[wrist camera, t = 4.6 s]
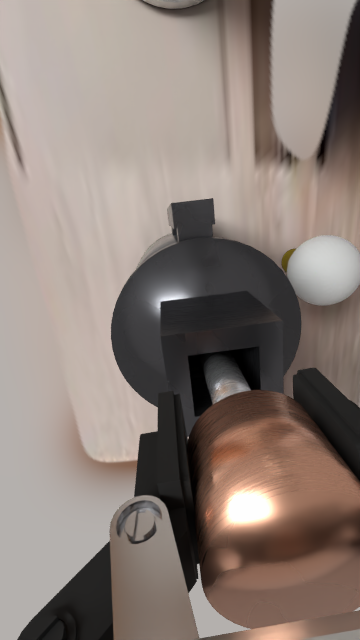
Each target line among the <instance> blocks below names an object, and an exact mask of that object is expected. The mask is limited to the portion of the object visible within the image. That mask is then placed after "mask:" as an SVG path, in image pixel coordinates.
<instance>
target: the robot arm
mask: <svg viewBox="0 0 360 640" xmlns="http://www.w3.org/2000/svg"><path fill="white" fill-rule="evenodd" d="M143 1H145V2H147V3H150V4H152V5H154V6H158V7H163V8H169V9H175V8H186V7H189V6H192V5H196V4H199V3H200V2H202V1H204V0H143ZM293 396H294V400H295V401H297V402H298V403H299V404H300V405H301V406H302V407H303V408H304V409H305V410H306V411H307V412H308V414H309V415H310V416H311V418H312V419H313V420H314V422H315V423H316V424H317V426H318V427H319V428H320V430H321V431H322V432H323V434H324V435H325V436H326V438H327V439H328V440H329V442H330V443H331V444H332V445H333V447H334V448H335V449H336V451H337V452H338V453H339V455H340V456H341V457H342V459H343V460H344V461H345V463H346V464H347V465H348V467H349V468H350V469H351V471H352V472H353V473H354V475H355V476H356V477H357V478H358V480H359V481H360V408H359V407H358V406H357V405H356V404H355V403H354V402H352V401H350V400H348V399H347V398H346V397H345V396H344V395H343V394H342V393H341V392H340V391H339V390H338V389H337V388H336V387H335V386H334V385H333V384H332V383H331V382H330V381H329V380H328V379H327V378H326V377H324V376H323V375H322V374H321V373H320V372H319V371H318V370H317V369H316V368H309V369H303V370H299V371H298V372H297V375H294V376H293ZM187 444H188V438H187V433H186V427H185V421H184V415H183V409H182V404H181V398H180V394H175V395H174V391H168V392H162V393H158V431H157V432H151V433H145V434H141V435H140V441H139V452H138V463H137V473H136V484H135V495H134V498H132V499H130V500H128V501H127V502H125V503H124V504H123V505H122V506H120V507H119V509H118V510H117V511H116V512H115V514H114V516H113V518H112V521H111V524H110V541H109V542H108V543H107V544H106V545H105V546H104V547H103V548H102V549H101V550H100V551H99V552H98V553H97V554H96V555H95V557H93V559H91V560H90V562H88V563H87V564H86V565H85V566H84V567H83V568H82V569H81V570H80V571H79V572H78V573H77V574H76V576H75V577H74V578H72V579H71V581H69V583H68V584H66V586H65V587H64V588H63V589H62V590H61V591H60V592H59V593H58V594H57V595H56V596H55V597H54V598H53V599H52V600H51V601H50V602H49V603H48V604H47V605H46V606H45V607H44V608H43V609H42V610H41V611H40V612H39V613H38V614H37V615H36V616H35V617H34V618H33V619H32V620H31V621H30V622H29V624H28V625H27V626H26V627H25V628H24V630H23V631H22V632H21V634H20V636H19V638H18V639H17V640H360V610H359V611H353V612H348V613H342V614H336V615H330V616H324V617H319V618H313V619H307V620H301V621H296V622H290V623H284V624H279V625H273V626H267V627H262V628H256V629H251V630H246V631H239V632H234V633H228V634H222V635H218V636H211V637H206V638H200V639H199V635H198V631H197V627H196V623H195V619H194V615H193V611H192V606H191V602H190V599H189V594H188V593H189V592H190V590H191V589H192V588H193V586H194V585H195V583H196V582H197V580H196V579H198V571H197V564H199V555H198V546H197V537H196V528H195V508H194V500H193V491H192V483H191V474H190V466H189V457H188V449H187Z"/></svg>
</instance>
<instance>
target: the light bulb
mask: <svg viewBox="0 0 360 640" xmlns="http://www.w3.org/2000/svg"><path fill="white" fill-rule="evenodd" d="M282 267H283V269H284V271H285V272H287V278H288V279H289V281H290V283H291V285H292V287H293V289H294V291H295V293H296V295H297V296H298V297H299V298H300V299H302V300H303V301H305V302H308V303H310V304H314V305H322V306H324V305H332V304H336V303H338V302H341V301H343V300H344V299H346V298H348V297H349V296H350V295H351V294H352V293H353V292H354V291H355V290H356V289H357V287H358V286H359V284H360V253H359V251H358V249H357V248H356V247H355V246H354V245H353V244H352V243H350V242H349V241H347V240H346V239H343V238H341V237H337V236H331V235H324V236H318V237H314V238H312V239H309V240H307V241H306V242H304V243H303V244H301V245H300V246H299V247H298V248H297V249H291V250H289V251H287V252H286V253H285V254H284V256H283V258H282Z"/></svg>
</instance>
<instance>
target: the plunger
mask: <svg viewBox="0 0 360 640" xmlns="http://www.w3.org/2000/svg"><path fill="white" fill-rule="evenodd" d="M199 357H200V361H201V365H202V368H203V372H204V375H205V379H206V382H207V386H208V390H209V393H210V397H211V400H212V404H213V405H212V406H211V407H209V408H208V409H207V410H206V411H205V412H204V413H203V414H202V415H201V416H200V417H199V419H198V420H197V421H196V423H195V424H194V426H193V428H192V430H191V432H190V435H189V439H188V444H187V449H188V457H189V466H190V474H191V483H192V491H193V500H194V508H195V528H196V537H197V546H198V555H199V564H200V573H201V581H202V587H203V591H204V593H205V596H206V597H207V600H208V601H209V603H210V604H211V605H212V607H213V608H214V609H215V610H216V611H217V612H218V613H219V614H221V615H222V616H223V617H225V618H226V619H228V620H230V621H232V622H233V623H235V624H238V625H241V626H243V627H246V628H250V629H256V628H262V627H267V626H273V625H279V624H284V623H290V622H296V621H301V620H307V619H313V618H319V617H324V616H330V615H336V614H342V613H348V612H352V611H354V610H355V609H357V608H358V607H360V481H359V480H358V478H357V477H356V476H355V475H354V473H353V472H352V471H351V469H350V468H349V467H348V465H347V464H346V463H345V461H344V460H343V459H342V457H341V456H340V455H339V453H338V452H337V451H336V449H335V448H334V447H333V445H332V444H331V443H330V442H329V440H328V439H327V438H326V436H325V435H324V434H323V432H322V431H321V430H320V428H319V427H318V426H317V424H316V423H315V422H314V420H313V419H312V418H311V416H310V415H309V414H308V412H307V411H306V410H305V409H304V408H303V407H302V406H301V405H300V404H299V403H298V402H297V401H295V400H294V399H292V398H290V397H288V396H286V395H284V394H281V393H278V392H274V391H268V390H251V389H250V387H249V385H248V384H247V382H246V380H245V378H244V376H243V374H242V372H241V370H240V368H239V366H238V365H237V363H236V361H235V359H234V357H233V355H232V353H231V351H230V350H227V351H220V352H212V353H204V354H199Z"/></svg>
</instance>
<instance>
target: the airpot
mask: <svg viewBox="0 0 360 640" xmlns="http://www.w3.org/2000/svg"><path fill="white" fill-rule="evenodd" d="M167 212H168V220H169V225H170V226H171V227H172V234H169V235H166V236H164V237H162V238H160V239H159V240H157V241H156V242H155V243H153V244H152V245H151V246H150V247H149V248H148V249H147V251H146V252H145V253H144V255H143V256H142V258H141V260H140V262H139V264H138V266H137V268H136V270H135V271H134V272H133V274H132V275H131V276H130V278H129V279H128V281H127V282H126V284H125V285H124V287H123V289H122V291H121V293H120V295H119V297H118V300H117V302H116V305H115V309H114V312H113V317H112V324H111V340H112V348H113V352H114V356H115V359H116V362H117V364H118V366H119V369H120V371H121V373H122V374H123V376H124V378H125V379H126V381H127V382H128V383H129V384H130V386H131V387H132V388H133V389H134V390H135V391H136V392H137V393H138V394H139V395H140V396H141V397H143V398H144V399H145V400H147V401H148V402H149V403H151V404H153V405H155V406H156V407H158V393H162V392H168V391H174V395H175V394H180V398H181V404H182V409H183V415H184V421H185V427H186V433H187V437H189V435H190V432H191V430H192V428H193V426H194V424H195V423H196V421H197V420H198V419H199V417H200V416H201V415H202V414H203V413H204V412H205V411H206V410H207V409H208V408H209V407H211V406H212V405H213V404H212V400H211V397H210V393H209V390H208V386H207V382H206V379H205V375H204V372H203V368H202V365H201V361H200V357H199V354H204V353H212V352H220V351H227V350H230V351H231V353H232V355H233V357H234V359H235V361H236V363H237V365H238V366H239V368H240V370H241V372H242V374H243V376H244V378H245V380H246V382H247V384H248V385H249V387H250V389H251V390H268V391H274V392H278V393H281V394H283V376H284V375H285V373H286V372H287V370H288V369H289V367H290V365H291V363H292V361H293V359H294V357H295V354H296V351H297V348H298V344H299V340H300V334H301V312H300V307H299V302H298V299H297V296H296V293H295V291H294V289H293V287H292V285H291V283H290V281H289V279H288V278H287V276H286V275H285V274H284V272H283V271H282V270H281V269H280V268H279V267H278V266H277V265H276V264H275V262H274V261H272V260H271V259H270V258H269V257H267V256H266V255H265V254H263V253H262V252H260V251H258V250H256V249H254V248H253V247H251V246H248V245H245V244H243V243H240V242H237V241H233V240H229V239H224V238H215V237H213V232H212V224H215V217H214V203H213V198H212V199H204V200H195V201H187V202H179V203H171V204H170V206H169V207H168V209H167Z"/></svg>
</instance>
